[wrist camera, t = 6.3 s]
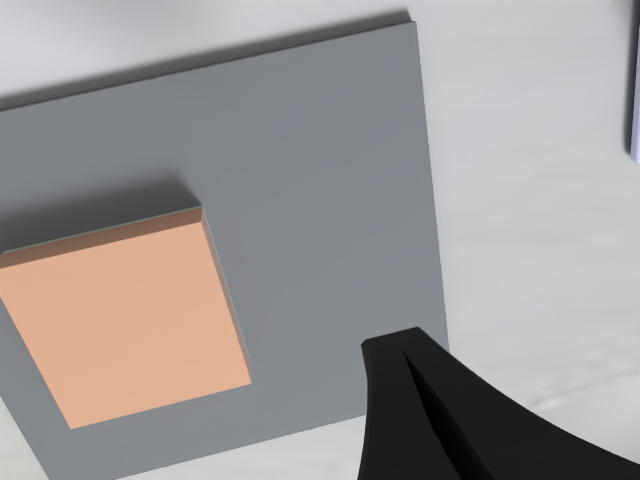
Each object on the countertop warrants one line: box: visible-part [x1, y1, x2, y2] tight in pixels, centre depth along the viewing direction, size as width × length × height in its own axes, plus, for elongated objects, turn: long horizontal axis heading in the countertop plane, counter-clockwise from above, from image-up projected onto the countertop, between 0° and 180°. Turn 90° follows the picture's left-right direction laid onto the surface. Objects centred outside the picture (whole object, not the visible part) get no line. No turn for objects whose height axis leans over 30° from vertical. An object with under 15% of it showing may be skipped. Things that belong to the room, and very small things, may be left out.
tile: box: [0, 205, 252, 429], centre depth 20 cm, size 2×7×7 cm
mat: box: [0, 21, 449, 480], centre depth 21 cm, size 18×16×1 cm
